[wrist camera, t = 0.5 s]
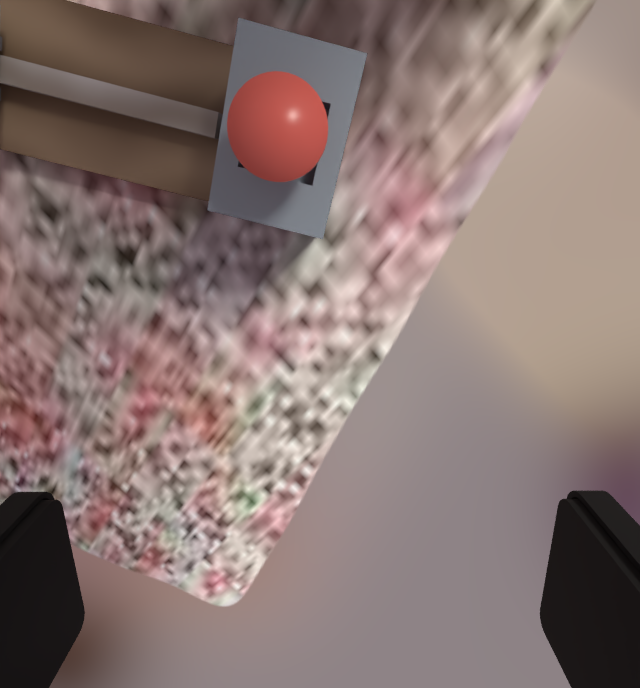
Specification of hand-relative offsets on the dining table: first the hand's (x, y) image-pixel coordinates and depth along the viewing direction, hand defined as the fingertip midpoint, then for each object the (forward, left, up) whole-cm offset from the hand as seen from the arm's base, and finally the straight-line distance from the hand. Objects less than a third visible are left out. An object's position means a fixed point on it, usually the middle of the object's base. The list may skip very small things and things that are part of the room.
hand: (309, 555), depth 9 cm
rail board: (-9, -20, -29) cm, 37 cm away
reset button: (-9, -4, -22) cm, 24 cm away
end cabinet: (-9, -4, -29) cm, 31 cm away
